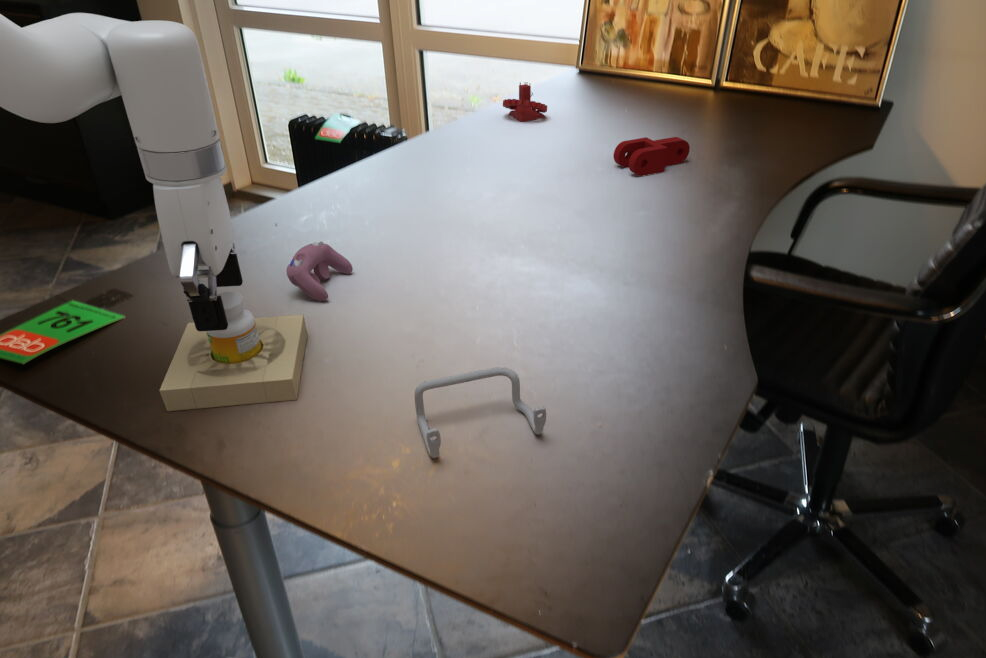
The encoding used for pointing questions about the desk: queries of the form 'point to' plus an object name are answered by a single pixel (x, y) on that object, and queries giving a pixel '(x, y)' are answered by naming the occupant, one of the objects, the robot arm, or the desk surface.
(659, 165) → the mechanical linkage
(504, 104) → the red cross-shaped piece
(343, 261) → the video game controller
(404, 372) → the desk surface
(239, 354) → the supplement bottle
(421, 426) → the bracket
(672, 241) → the desk surface
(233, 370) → the socket pad
